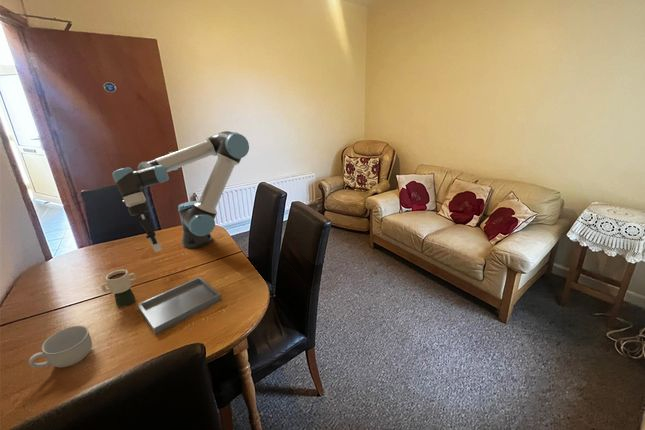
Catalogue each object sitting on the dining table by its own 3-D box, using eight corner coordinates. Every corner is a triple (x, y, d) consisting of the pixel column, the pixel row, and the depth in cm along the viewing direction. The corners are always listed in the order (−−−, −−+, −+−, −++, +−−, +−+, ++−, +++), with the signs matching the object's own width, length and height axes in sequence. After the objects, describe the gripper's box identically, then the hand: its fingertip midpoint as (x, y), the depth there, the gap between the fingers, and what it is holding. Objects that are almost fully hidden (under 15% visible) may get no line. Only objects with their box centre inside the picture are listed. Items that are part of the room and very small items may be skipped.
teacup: (93, 338, 95) (85, 319, 92) (99, 357, 88) (90, 337, 85) (36, 364, 86) (25, 344, 83) (37, 388, 79) (25, 367, 76)
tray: (201, 282, 124) (199, 276, 122) (221, 300, 112) (220, 294, 111) (139, 310, 108) (137, 304, 106) (155, 335, 96) (153, 328, 95)
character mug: (139, 292, 118) (130, 265, 113) (144, 299, 113) (135, 272, 108) (107, 305, 111) (97, 277, 106) (112, 314, 106) (101, 284, 101)
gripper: (128, 209, 130) (147, 251, 134) (125, 205, 109) (149, 256, 113) (146, 203, 134) (164, 244, 138) (147, 199, 113) (169, 248, 117)
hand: (158, 250), depth 125 cm, fingers open, 13 cm apart
